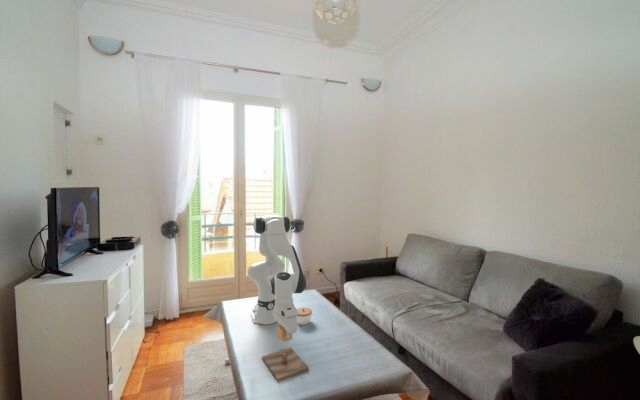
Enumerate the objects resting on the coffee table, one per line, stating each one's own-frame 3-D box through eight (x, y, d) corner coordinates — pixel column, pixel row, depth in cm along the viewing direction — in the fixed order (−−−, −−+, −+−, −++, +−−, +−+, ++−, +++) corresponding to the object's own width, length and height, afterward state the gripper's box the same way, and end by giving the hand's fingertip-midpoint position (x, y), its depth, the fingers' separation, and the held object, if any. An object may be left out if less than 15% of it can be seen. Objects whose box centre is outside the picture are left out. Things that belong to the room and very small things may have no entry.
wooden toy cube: (277, 337, 147) (277, 326, 147) (287, 334, 150) (287, 323, 150) (282, 342, 143) (281, 330, 142) (292, 338, 145) (292, 327, 145)
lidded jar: (312, 319, 195) (312, 305, 194) (310, 327, 184) (310, 312, 183) (296, 318, 196) (296, 304, 195) (293, 326, 185) (293, 311, 185)
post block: (262, 359, 152) (261, 349, 151) (290, 349, 160) (290, 340, 160) (277, 382, 135) (277, 370, 134) (308, 370, 143) (308, 359, 143)
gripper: (270, 300, 152) (270, 327, 153) (287, 316, 135) (287, 345, 136) (281, 298, 156) (281, 324, 157) (299, 312, 138) (299, 341, 139)
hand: (284, 334), depth 146 cm, fingers closed on wooden toy cube, 5 cm apart
